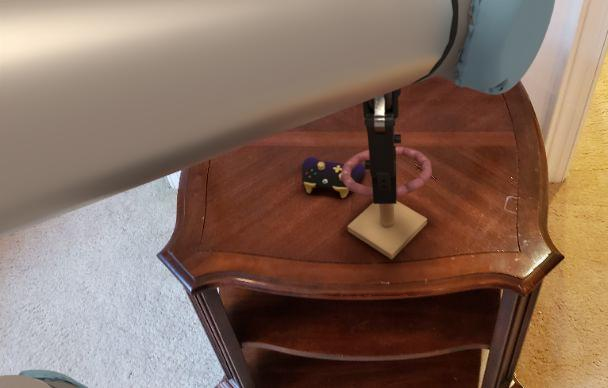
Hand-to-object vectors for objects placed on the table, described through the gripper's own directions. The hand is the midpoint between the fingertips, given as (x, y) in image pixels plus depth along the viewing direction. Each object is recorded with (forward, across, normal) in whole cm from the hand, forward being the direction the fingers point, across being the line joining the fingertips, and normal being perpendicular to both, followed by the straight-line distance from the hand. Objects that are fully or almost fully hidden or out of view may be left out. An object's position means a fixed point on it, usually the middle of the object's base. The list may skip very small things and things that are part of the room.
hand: (385, 194), depth 66 cm
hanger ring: (+1, +5, 0) cm, 5 cm away
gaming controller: (+13, +14, +9) cm, 21 cm away
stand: (+13, +5, 0) cm, 14 cm away
